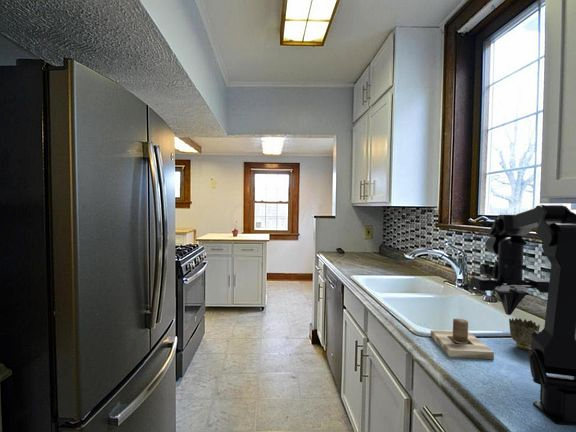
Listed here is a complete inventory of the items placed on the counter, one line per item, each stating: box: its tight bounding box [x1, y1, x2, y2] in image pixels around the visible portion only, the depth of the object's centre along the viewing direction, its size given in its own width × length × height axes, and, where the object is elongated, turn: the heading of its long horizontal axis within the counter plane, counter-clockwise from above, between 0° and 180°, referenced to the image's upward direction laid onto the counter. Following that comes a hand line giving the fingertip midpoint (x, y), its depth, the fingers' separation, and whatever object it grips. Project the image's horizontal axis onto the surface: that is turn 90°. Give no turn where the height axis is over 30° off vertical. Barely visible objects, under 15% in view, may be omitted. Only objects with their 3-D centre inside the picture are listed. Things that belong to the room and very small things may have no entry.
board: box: [430, 329, 495, 360], centre depth 94 cm, size 14×12×2 cm
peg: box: [452, 318, 469, 344], centre depth 94 cm, size 4×4×8 cm
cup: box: [508, 317, 541, 351], centre depth 94 cm, size 8×7×8 cm
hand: (508, 314), depth 87 cm, fingers closed
